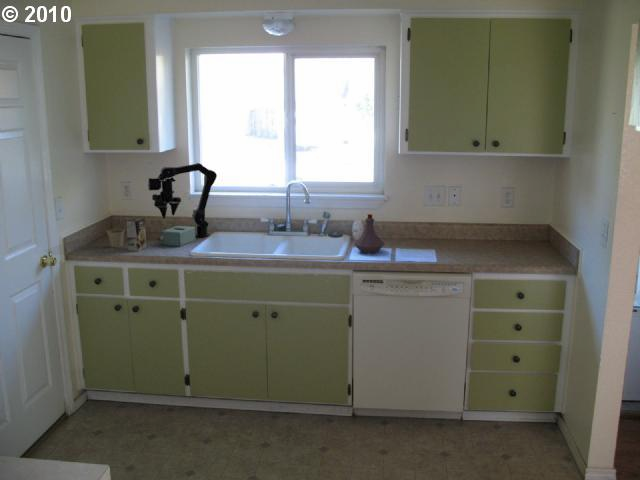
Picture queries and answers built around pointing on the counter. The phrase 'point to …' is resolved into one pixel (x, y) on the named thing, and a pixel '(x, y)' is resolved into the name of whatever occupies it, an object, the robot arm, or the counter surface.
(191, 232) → the box
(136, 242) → the coffee box
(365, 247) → the flask
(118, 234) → the flower pot
